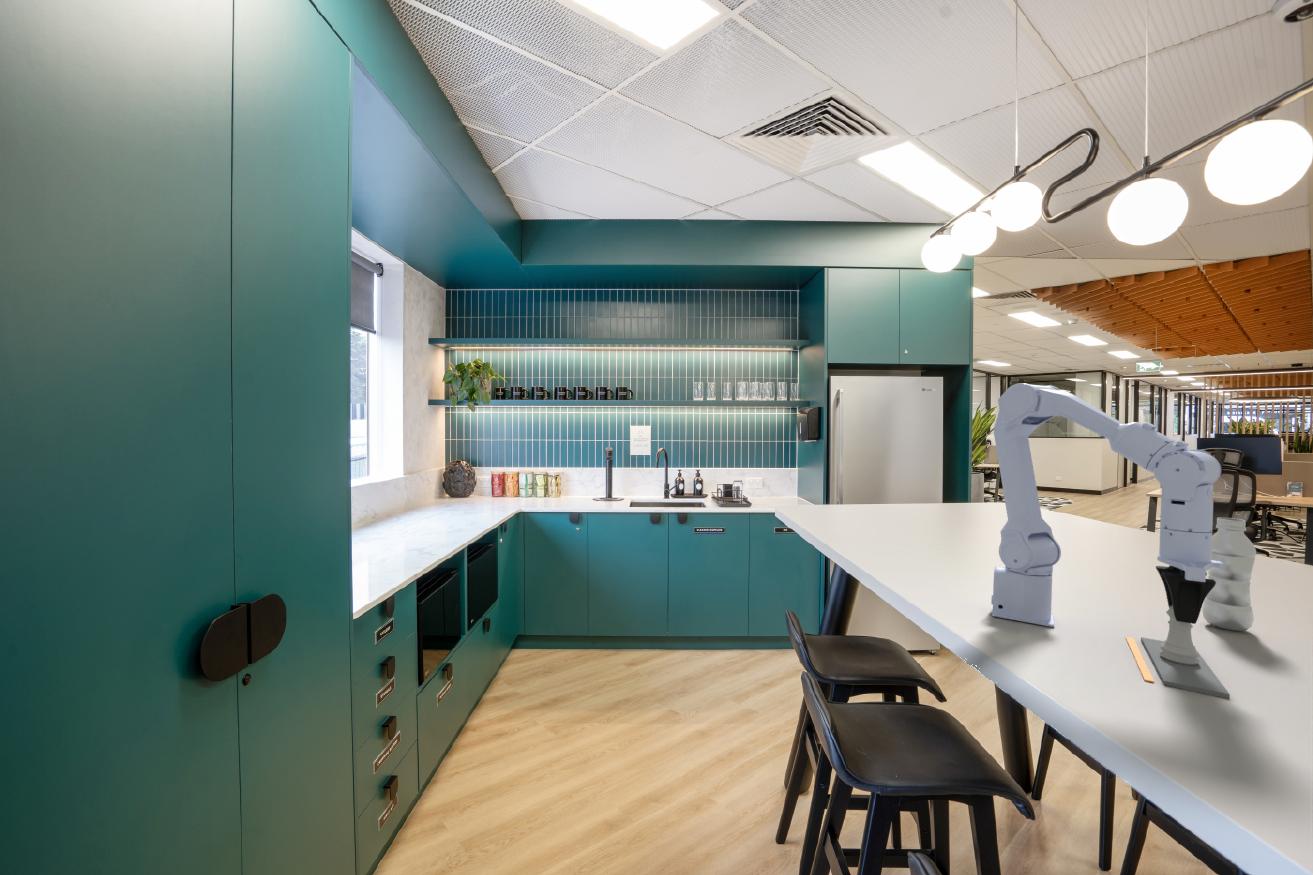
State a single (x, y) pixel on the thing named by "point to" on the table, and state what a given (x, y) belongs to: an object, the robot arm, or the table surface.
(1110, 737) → the table surface
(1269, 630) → the table surface
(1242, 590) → the plastic bottle
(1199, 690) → the mat
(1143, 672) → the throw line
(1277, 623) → the table surface
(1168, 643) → the rook chess piece
